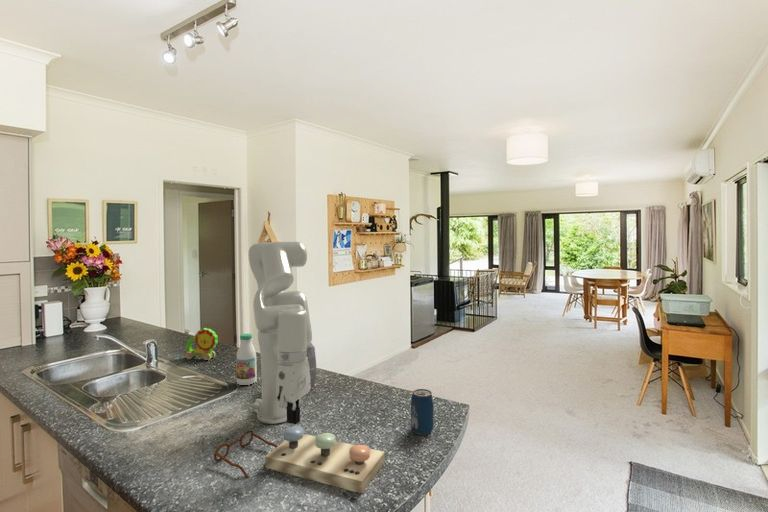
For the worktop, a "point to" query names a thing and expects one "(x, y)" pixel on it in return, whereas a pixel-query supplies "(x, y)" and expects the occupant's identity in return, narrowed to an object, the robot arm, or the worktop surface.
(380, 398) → the worktop surface
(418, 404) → the soda can
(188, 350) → the toy lion
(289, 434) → the slate-blue key
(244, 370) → the milk bottle
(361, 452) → the terracotta key
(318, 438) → the sage key
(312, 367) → the small grey backpack
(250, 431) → the glasses
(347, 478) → the wooden button board
